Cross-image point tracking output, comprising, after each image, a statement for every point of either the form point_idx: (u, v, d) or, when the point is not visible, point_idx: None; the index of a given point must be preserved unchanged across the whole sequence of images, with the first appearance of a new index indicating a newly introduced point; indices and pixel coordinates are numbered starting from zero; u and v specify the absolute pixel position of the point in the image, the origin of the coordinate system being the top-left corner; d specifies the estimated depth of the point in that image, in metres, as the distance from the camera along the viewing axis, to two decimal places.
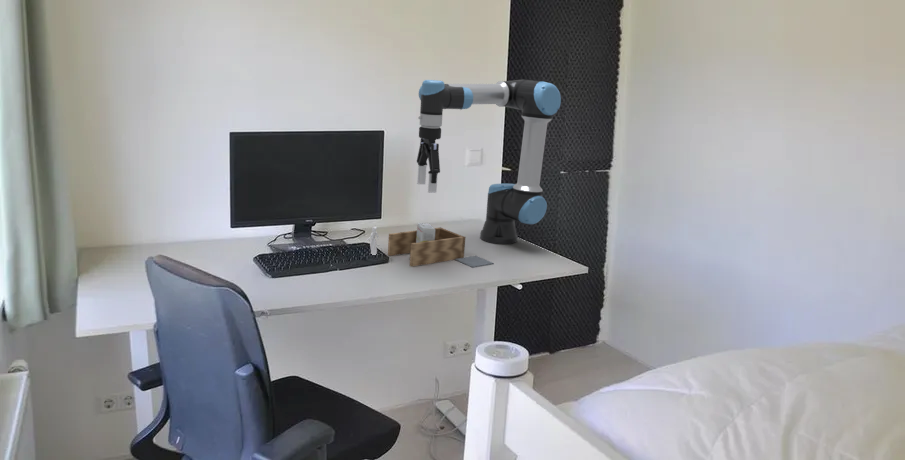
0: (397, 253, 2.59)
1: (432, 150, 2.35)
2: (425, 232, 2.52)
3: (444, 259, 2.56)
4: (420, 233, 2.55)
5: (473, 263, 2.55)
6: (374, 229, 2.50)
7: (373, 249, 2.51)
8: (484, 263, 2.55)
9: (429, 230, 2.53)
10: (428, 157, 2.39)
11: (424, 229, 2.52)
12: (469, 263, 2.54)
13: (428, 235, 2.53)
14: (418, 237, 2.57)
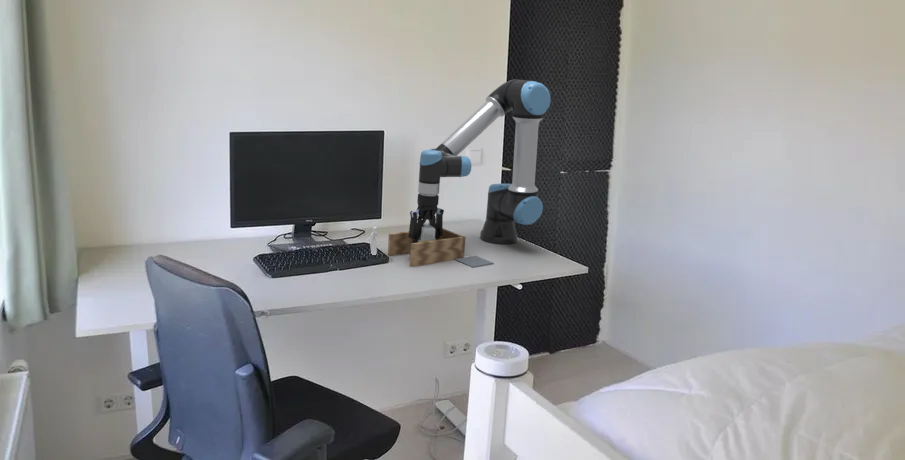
0: (397, 253, 2.59)
1: (411, 217, 2.52)
2: (425, 232, 2.52)
3: (444, 259, 2.56)
4: None
5: (473, 263, 2.55)
6: (374, 229, 2.50)
7: (373, 249, 2.51)
8: (484, 263, 2.55)
9: (429, 230, 2.53)
10: None
11: (424, 229, 2.52)
12: (469, 263, 2.54)
13: (428, 235, 2.53)
14: None
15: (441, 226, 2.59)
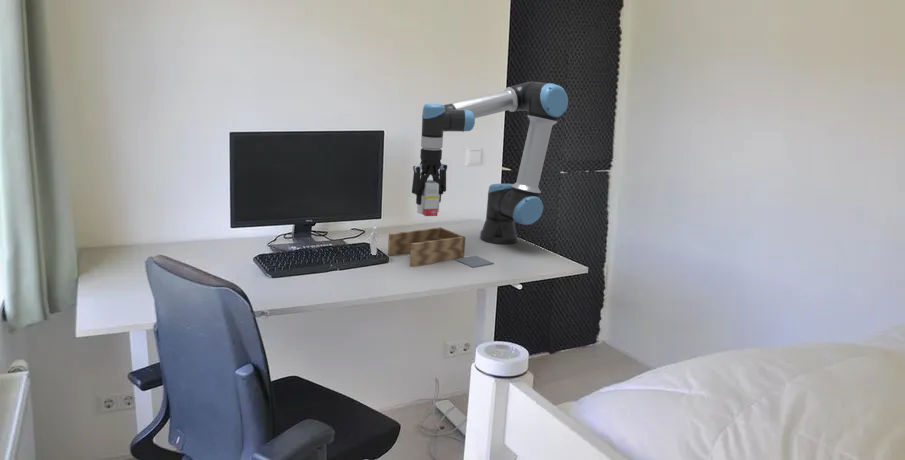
0: (397, 253, 2.59)
1: (414, 172, 2.48)
2: (429, 187, 2.48)
3: (444, 259, 2.56)
4: None
5: (473, 263, 2.55)
6: (374, 229, 2.50)
7: (373, 249, 2.51)
8: (484, 263, 2.55)
9: (433, 185, 2.49)
10: None
11: (427, 184, 2.48)
12: (469, 263, 2.54)
13: (432, 190, 2.49)
14: None
15: (445, 182, 2.55)
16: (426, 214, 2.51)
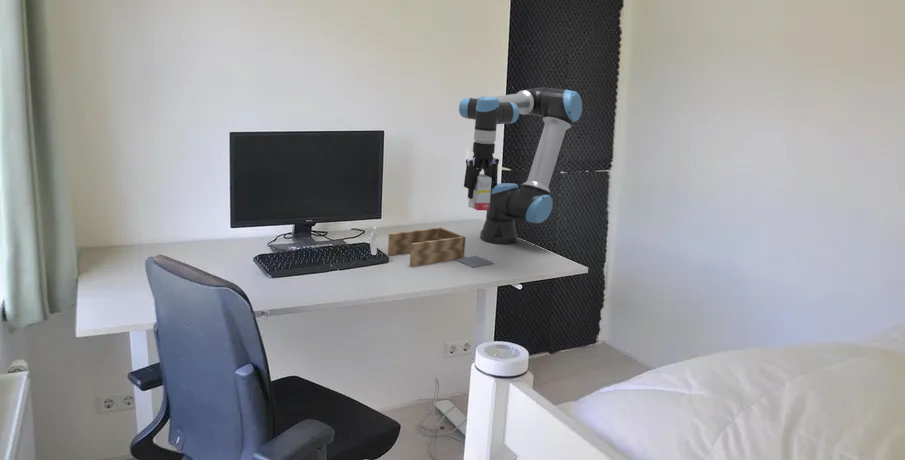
0: (397, 253, 2.59)
1: (467, 166, 2.46)
2: (481, 181, 2.46)
3: (444, 259, 2.56)
4: None
5: (473, 263, 2.55)
6: (374, 229, 2.50)
7: (373, 249, 2.51)
8: (484, 263, 2.55)
9: (485, 179, 2.46)
10: None
11: (480, 178, 2.45)
12: (469, 263, 2.54)
13: (484, 184, 2.46)
14: None
15: (496, 176, 2.53)
16: (478, 208, 2.48)
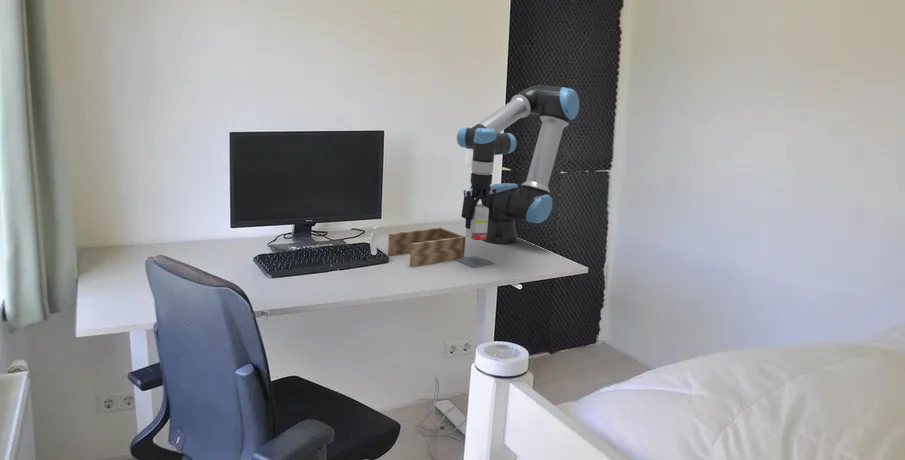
0: (397, 253, 2.59)
1: (464, 196, 2.48)
2: (479, 211, 2.48)
3: (444, 259, 2.56)
4: None
5: (473, 263, 2.55)
6: (374, 229, 2.50)
7: (373, 249, 2.51)
8: (484, 263, 2.55)
9: (483, 209, 2.49)
10: None
11: (478, 208, 2.48)
12: (469, 263, 2.54)
13: (482, 215, 2.49)
14: None
15: (493, 206, 2.55)
16: (475, 238, 2.50)
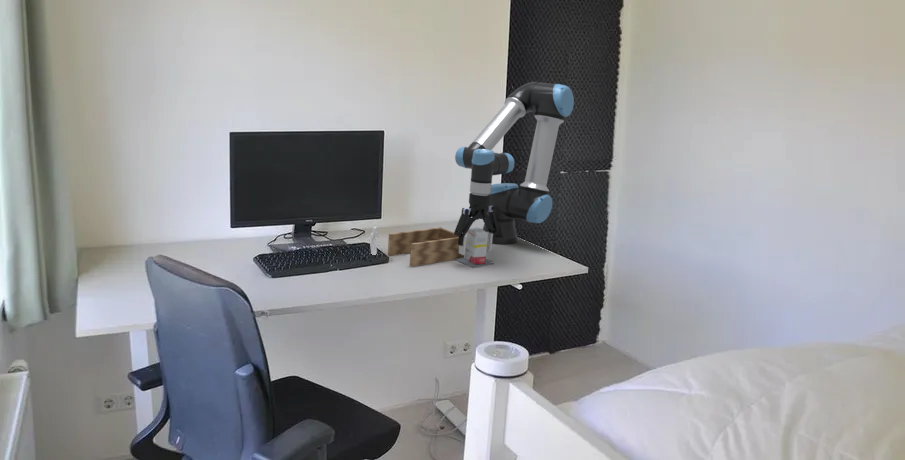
0: (397, 253, 2.59)
1: (461, 214, 2.49)
2: (478, 236, 2.51)
3: (444, 259, 2.56)
4: (471, 237, 2.54)
5: None
6: (374, 229, 2.50)
7: (373, 249, 2.51)
8: None
9: (482, 234, 2.51)
10: None
11: (477, 233, 2.50)
12: (469, 263, 2.54)
13: (481, 239, 2.51)
14: (469, 241, 2.56)
15: (496, 222, 2.58)
16: (475, 262, 2.53)
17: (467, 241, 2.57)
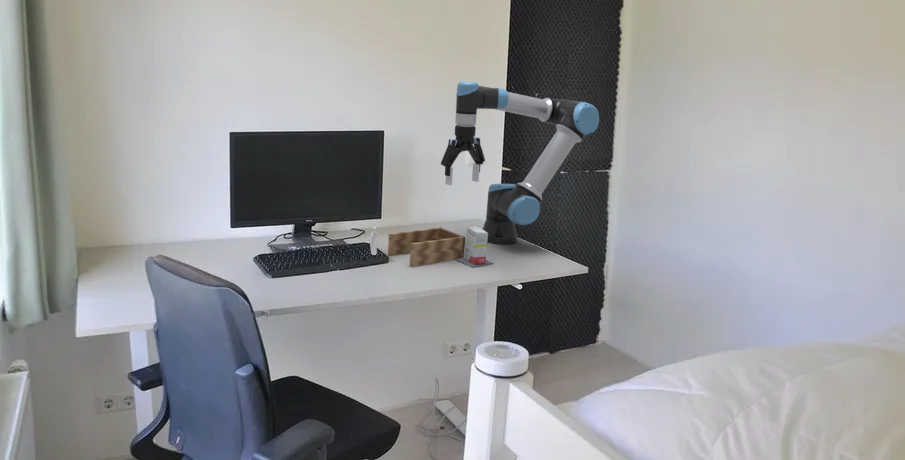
0: (397, 253, 2.59)
1: (448, 145, 2.55)
2: (478, 236, 2.51)
3: (444, 259, 2.56)
4: (471, 237, 2.54)
5: None
6: (374, 229, 2.50)
7: (373, 249, 2.51)
8: None
9: (482, 234, 2.51)
10: None
11: (477, 233, 2.50)
12: (469, 263, 2.54)
13: (481, 239, 2.51)
14: (469, 241, 2.56)
15: (482, 153, 2.64)
16: (475, 262, 2.53)
17: (467, 241, 2.57)
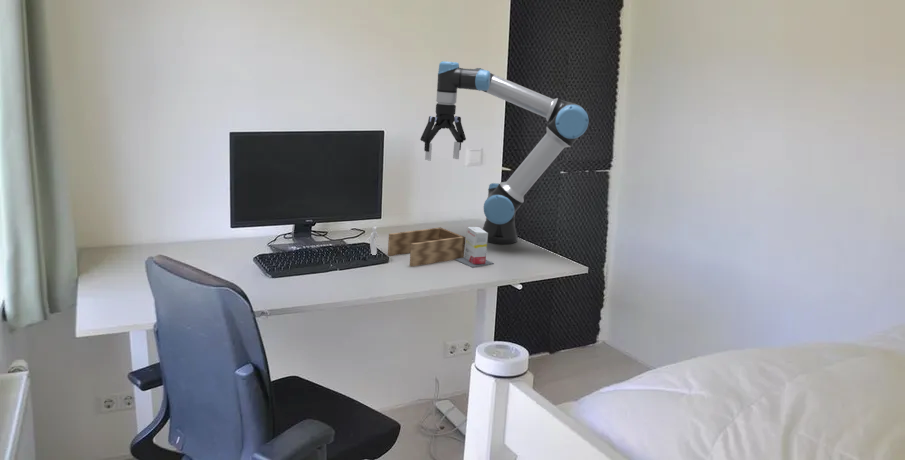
0: (397, 253, 2.59)
1: (428, 122, 2.65)
2: (478, 236, 2.51)
3: (444, 259, 2.56)
4: (471, 237, 2.54)
5: None
6: (374, 229, 2.50)
7: (373, 249, 2.51)
8: None
9: (482, 234, 2.51)
10: None
11: (477, 233, 2.50)
12: (469, 263, 2.54)
13: (481, 239, 2.51)
14: (469, 241, 2.56)
15: (462, 132, 2.74)
16: (475, 262, 2.53)
17: (467, 241, 2.57)
